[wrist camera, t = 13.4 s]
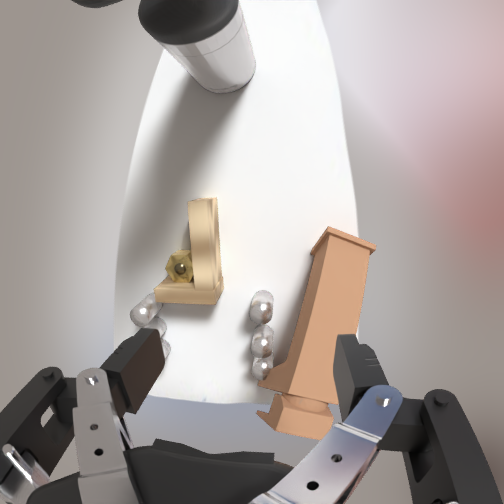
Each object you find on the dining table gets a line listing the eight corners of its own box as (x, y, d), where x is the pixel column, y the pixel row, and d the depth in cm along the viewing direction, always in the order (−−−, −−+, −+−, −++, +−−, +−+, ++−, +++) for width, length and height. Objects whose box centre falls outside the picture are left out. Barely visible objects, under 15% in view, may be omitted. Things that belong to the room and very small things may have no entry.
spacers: (143, 287, 46) (127, 301, 40) (273, 290, 43) (271, 307, 37) (157, 354, 49) (144, 372, 43) (273, 362, 47) (272, 384, 41)
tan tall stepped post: (286, 283, 56) (246, 406, 45) (328, 226, 35) (271, 430, 24) (319, 294, 56) (283, 416, 45) (376, 244, 35) (332, 442, 24)
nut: (170, 250, 43) (163, 255, 40) (200, 249, 43) (194, 255, 40) (173, 275, 44) (166, 282, 42) (202, 276, 44) (196, 282, 41)
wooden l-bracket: (161, 200, 42) (143, 204, 36) (218, 197, 41) (207, 200, 35) (170, 287, 45) (155, 302, 39) (223, 288, 44) (215, 304, 38)
